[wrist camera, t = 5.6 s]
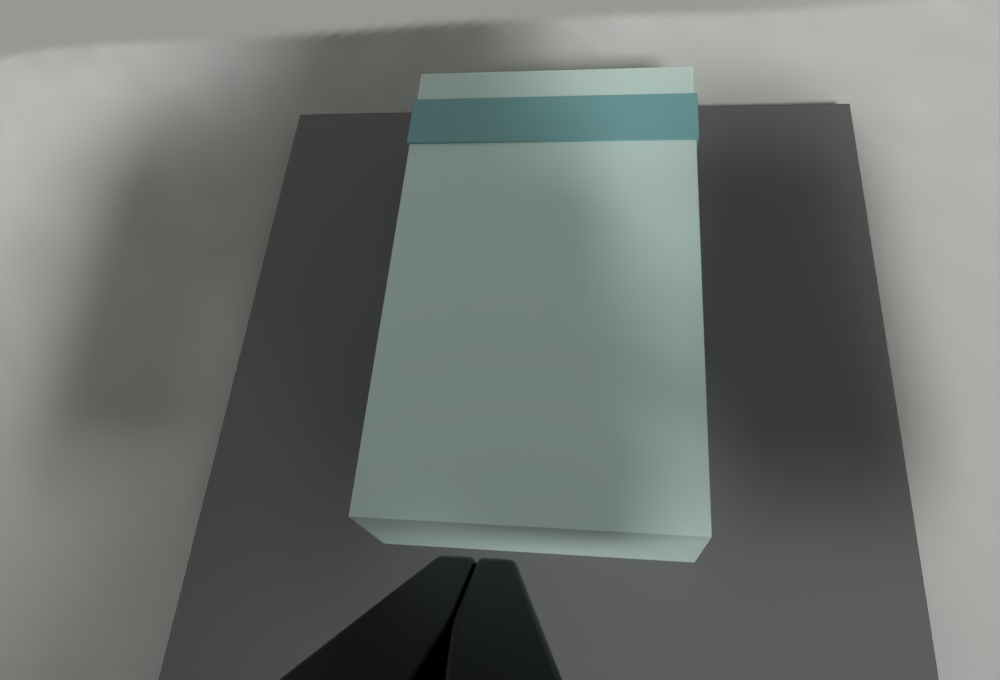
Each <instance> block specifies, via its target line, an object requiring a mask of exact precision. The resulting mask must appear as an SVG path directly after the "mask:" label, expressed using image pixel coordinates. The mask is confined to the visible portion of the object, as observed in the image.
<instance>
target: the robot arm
mask: <svg viewBox="0 0 1000 680" xmlns="http://www.w3.org/2000/svg"><path fill="white" fill-rule="evenodd" d="M279 680H562V677H561V675H560V672H559V669H558V667H557V664H556V662H555V659H554V657H553V654H552V652H551V649H550V647H549V644H548V642H547V639H546V636H545V634H544V631H543V629H542V626H541V624H540V621H539V619H538V616H537V614H536V611H535V609H534V606H533V603H532V601H531V598H530V596H529V593H528V591H527V588H526V586H525V583H524V581H523V578H522V576H521V573H520V570H519V568H518V565H517V564H516V562H515V561H514V560H511V559H498V558H481V559H479V560H478V561H477V562H476V560H475V559H474V558H473V557H465V556H449V555H441V556H439V557H437V558H435V559H434V560H433V561H431V562H430V563H429V564H427V565H426V566H425V567H424V568H422V569H421V570H420V571H418V572H417V573H416V574H414V575H413V576H412V577H411V578H409V579H408V580H407V581H405V582H404V583H403V584H402V585H400V586H399V587H398V588H396V589H395V590H394V591H393V592H391V593H390V594H389V595H387V596H386V597H385V598H384V599H382V600H381V601H380V602H378V603H377V604H376V605H374V606H373V607H372V608H371V609H369V610H368V611H367V612H365V613H364V614H363V615H362V616H360V617H359V618H358V619H356V620H355V621H354V622H353V623H351V624H350V625H349V626H347V627H346V628H345V629H344V630H342V631H341V632H340V633H338V634H337V635H336V636H334V637H333V638H332V639H331V640H329V641H328V642H327V643H325V644H324V645H323V646H322V647H320V648H319V649H318V650H316V651H315V652H314V653H313V654H311V655H310V656H309V657H307V658H306V659H305V660H304V661H302V662H301V663H300V664H298V665H297V666H296V667H294V668H293V669H292V670H291V671H289V672H288V673H287V674H285V675H284V676H283V677H282V678H280V679H279Z"/></svg>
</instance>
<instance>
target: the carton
mask: <svg viewBox="0 0 1000 680" xmlns="http://www.w3.org/2000/svg"><path fill="white" fill-rule="evenodd" d="M698 142H699V124H698V99H697V93H694V68H693V67H657V68H620V69H583V70H546V71H509V72H472V73H435V74H421V79H420V85H419V91H418V97H417V99H414V103H413V109H412V115H411V121H410V127H409V133H408V139H407V144H408V147H409V152H408V158H407V164H406V170H405V176H404V182H403V188H402V194H401V200H400V206H399V213H398V219H397V225H396V231H395V237H394V243H393V249H392V255H391V261H390V267H389V273H388V279H387V286H386V292H385V298H384V304H383V310H382V316H381V322H380V328H379V334H378V340H377V346H376V353H375V359H374V365H373V371H372V377H371V383H370V389H369V395H368V401H367V407H366V413H365V420H364V426H363V432H362V438H361V444H360V450H359V456H358V462H357V468H356V474H355V480H354V487H353V493H352V499H351V505H350V511H349V517H350V518H351V519H352V520H354V521H355V522H356V523H358V524H359V525H360V526H362V527H363V528H364V529H366V530H367V531H368V532H370V533H371V534H372V535H373V536H375V537H376V538H377V539H379V540H380V541H381V542H383V543H384V544H399V545H415V546H432V547H448V548H465V549H481V550H497V551H514V552H530V553H546V554H563V555H579V556H595V557H612V558H628V559H645V560H661V561H677V562H695V561H696V560H697V558H698V557H699V555H700V554H701V552H702V551H703V549H704V548H705V546H706V545H707V543H708V542H709V540H710V539H711V537H712V530H711V505H710V479H709V453H708V428H707V402H706V376H705V351H704V325H703V299H702V274H701V248H700V222H699V197H698V171H697V147H698Z"/></svg>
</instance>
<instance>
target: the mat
mask: <svg viewBox="0 0 1000 680" xmlns="http://www.w3.org/2000/svg"><path fill="white" fill-rule="evenodd" d="M411 115H412V113H366V114H315V115H300V119H299V123H298V127H297V131H296V135H295V139H294V143H293V147H292V151H291V155H290V159H289V163H288V167H287V171H286V175H285V179H284V183H283V187H282V191H281V195H280V199H279V203H278V207H277V211H276V215H275V219H274V223H273V227H272V231H271V235H270V239H269V243H268V247H267V251H266V255H265V259H264V263H263V266H262V270H261V274H260V278H259V282H258V286H257V290H256V294H255V298H254V302H253V306H252V310H251V314H250V318H249V322H248V326H247V330H246V334H245V338H244V342H243V346H242V350H241V354H240V358H239V362H238V366H237V370H236V374H235V378H234V382H233V386H232V390H231V394H230V398H229V402H228V406H227V410H226V414H225V418H224V422H223V426H222V430H221V434H220V438H219V442H218V446H217V450H216V454H215V458H214V462H213V466H212V470H211V474H210V478H209V482H208V486H207V490H206V494H205V498H204V502H203V506H202V510H201V514H200V518H199V522H198V526H197V530H196V534H195V537H194V541H193V545H192V549H191V553H190V557H189V561H188V565H187V569H186V573H185V577H184V581H183V585H182V589H181V593H180V597H179V601H178V605H177V609H176V613H175V617H174V621H173V625H172V629H171V633H170V637H169V641H168V645H167V649H166V653H165V657H164V661H163V665H162V669H161V673H160V677H159V680H279V679H280V678H282V677H283V676H284V675H285V674H287V673H288V672H289V671H291V670H292V669H293V668H294V667H296V666H297V665H298V664H300V663H301V662H302V661H304V660H305V659H306V658H307V657H309V656H310V655H311V654H313V653H314V652H315V651H316V650H318V649H319V648H320V647H322V646H323V645H324V644H325V643H327V642H328V641H329V640H331V639H332V638H333V637H334V636H336V635H337V634H338V633H340V632H341V631H342V630H344V629H345V628H346V627H347V626H349V625H350V624H351V623H353V622H354V621H355V620H356V619H358V618H359V617H360V616H362V615H363V614H364V613H365V612H367V611H368V610H369V609H371V608H372V607H373V606H374V605H376V604H377V603H378V602H380V601H381V600H382V599H384V598H385V597H386V596H387V595H389V594H390V593H391V592H393V591H394V590H395V589H396V588H398V587H399V586H400V585H402V584H403V583H404V582H405V581H407V580H408V579H409V578H411V577H412V576H413V575H414V574H416V573H417V572H418V571H420V570H421V569H422V568H424V567H425V566H426V565H427V564H429V563H430V562H431V561H433V560H434V559H435V558H437V557H439V556H441V555H449V556H465V557H473V558H474V559H475V560H476V562H477V561H478V560H479V559H481V558H498V559H511V560H514V561H515V562H516V564H517V565H518V568H519V570H520V573H521V576H522V578H523V581H524V583H525V586H526V588H527V591H528V593H529V596H530V598H531V601H532V603H533V606H534V609H535V611H536V614H537V616H538V619H539V621H540V624H541V626H542V629H543V631H544V634H545V636H546V639H547V642H548V644H549V647H550V649H551V652H552V654H553V657H554V659H555V662H556V664H557V667H558V669H559V672H560V675H561V677H562V680H939V679H938V673H937V666H936V660H935V653H934V647H933V640H932V634H931V628H930V621H929V615H928V608H927V602H926V595H925V589H924V582H923V576H922V569H921V563H920V557H919V550H918V544H917V537H916V531H915V524H914V518H913V511H912V505H911V498H910V492H909V486H908V479H907V473H906V466H905V460H904V453H903V447H902V440H901V434H900V427H899V421H898V415H897V408H896V402H895V395H894V389H893V382H892V376H891V369H890V363H889V356H888V350H887V344H886V337H885V331H884V324H883V318H882V311H881V305H880V298H879V292H878V285H877V279H876V273H875V266H874V260H873V253H872V247H871V240H870V234H869V227H868V221H867V214H866V208H865V202H864V195H863V189H862V182H861V176H860V169H859V163H858V156H857V150H856V143H855V137H854V131H853V124H852V118H851V111H850V105H849V104H820V105H769V106H719V107H698V124H699V142H698V147H697V171H698V197H699V222H700V248H701V274H702V299H703V325H704V351H705V376H706V402H707V428H708V453H709V479H710V505H711V530H712V537H711V539H710V540H709V542H708V543H707V545H706V546H705V548H704V549H703V551H702V552H701V554H700V555H699V557H698V558H697V560H696V561H695V562H677V561H661V560H645V559H628V558H612V557H595V556H579V555H563V554H546V553H530V552H514V551H497V550H481V549H465V548H448V547H432V546H415V545H399V544H384V543H383V542H381V541H380V540H379V539H377V538H376V537H375V536H373V535H372V534H371V533H370V532H368V531H367V530H366V529H364V528H363V527H362V526H360V525H359V524H358V523H356V522H355V521H354V520H352V519H351V518H350V517H349V511H350V505H351V499H352V493H353V487H354V480H355V474H356V468H357V462H358V456H359V450H360V444H361V438H362V432H363V426H364V420H365V413H366V407H367V401H368V395H369V389H370V383H371V377H372V371H373V365H374V359H375V353H376V346H377V340H378V334H379V328H380V322H381V316H382V310H383V304H384V298H385V292H386V286H387V279H388V273H389V267H390V261H391V255H392V249H393V243H394V237H395V231H396V225H397V219H398V213H399V206H400V200H401V194H402V188H403V182H404V176H405V170H406V164H407V158H408V152H409V147H408V144H407V139H408V133H409V127H410V121H411Z"/></svg>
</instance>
